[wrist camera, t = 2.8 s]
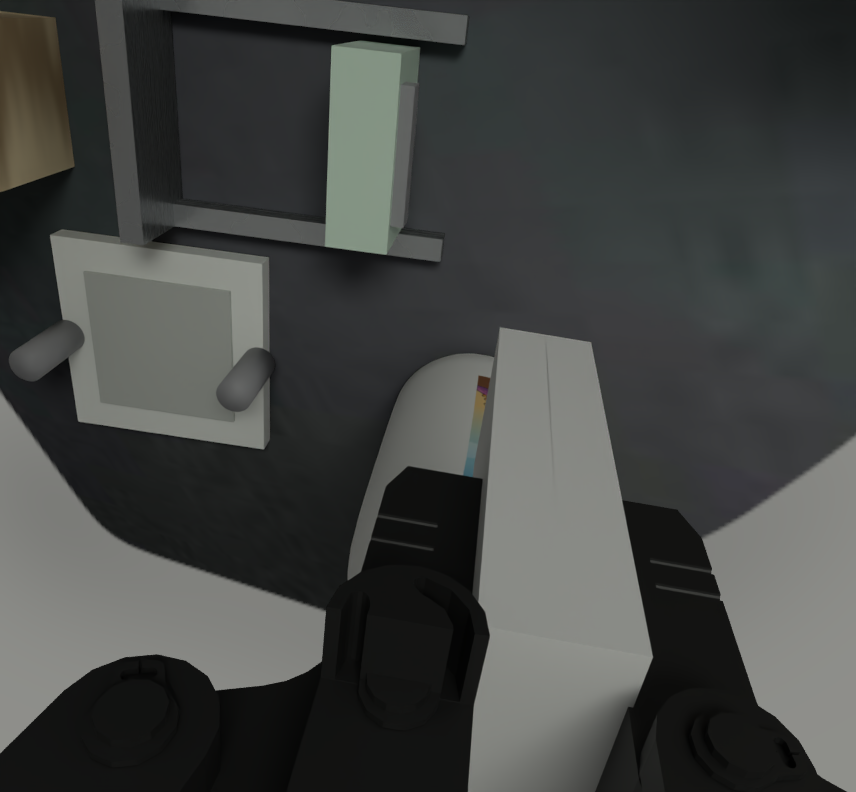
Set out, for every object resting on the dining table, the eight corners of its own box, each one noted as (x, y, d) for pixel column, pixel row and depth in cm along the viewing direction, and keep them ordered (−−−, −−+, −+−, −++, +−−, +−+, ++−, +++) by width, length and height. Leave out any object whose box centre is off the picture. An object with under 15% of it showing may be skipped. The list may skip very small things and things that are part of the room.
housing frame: (144, -22, 29) (92, -27, 25) (469, 15, 28) (461, 16, 25) (162, 217, 33) (120, 241, 30) (442, 255, 33) (432, 284, 29)
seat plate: (49, 227, 34) (-12, 255, 30) (281, 259, 34) (249, 292, 30) (77, 410, 39) (27, 455, 35) (281, 441, 38) (253, 490, 34)
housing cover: (360, 40, 29) (331, 45, 25) (432, 48, 29) (416, 55, 24) (352, 214, 32) (324, 246, 28) (416, 223, 32) (399, 256, 28)
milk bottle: (412, 488, 39) (320, 882, 21) (379, 359, 35) (238, 699, 18) (557, 474, 37) (586, 883, 20) (537, 337, 34) (552, 685, 16)
